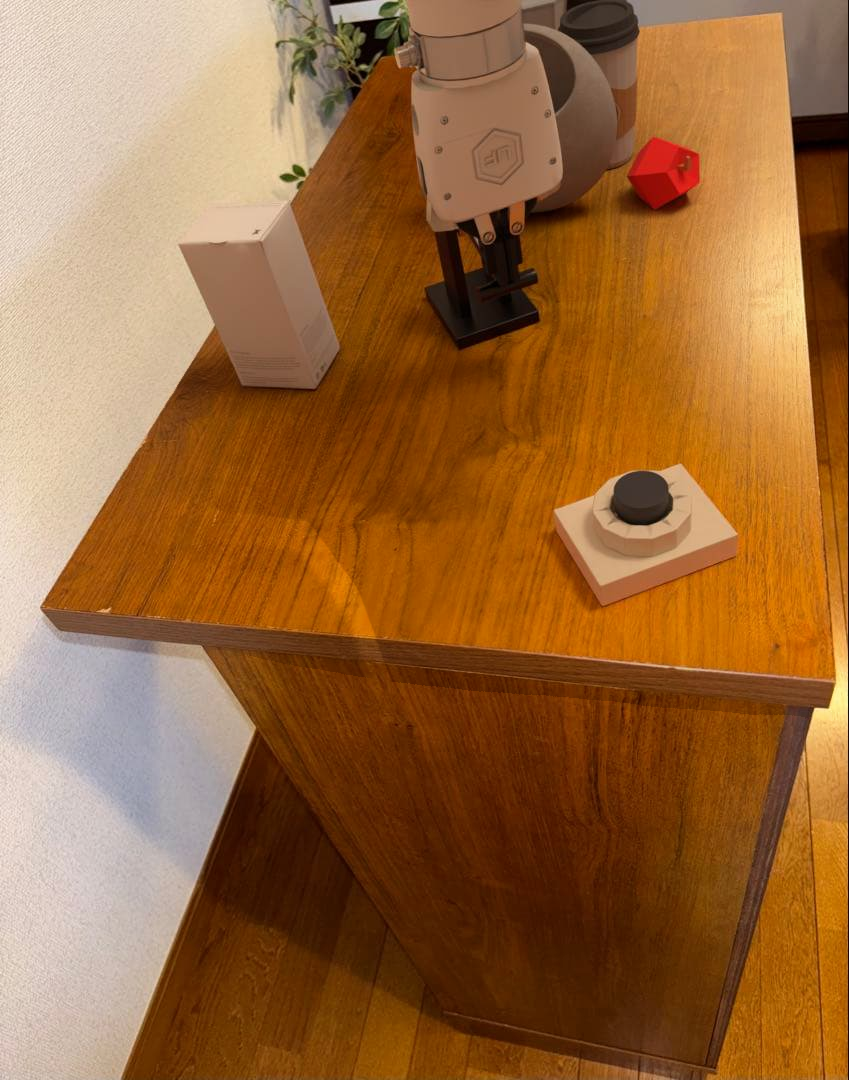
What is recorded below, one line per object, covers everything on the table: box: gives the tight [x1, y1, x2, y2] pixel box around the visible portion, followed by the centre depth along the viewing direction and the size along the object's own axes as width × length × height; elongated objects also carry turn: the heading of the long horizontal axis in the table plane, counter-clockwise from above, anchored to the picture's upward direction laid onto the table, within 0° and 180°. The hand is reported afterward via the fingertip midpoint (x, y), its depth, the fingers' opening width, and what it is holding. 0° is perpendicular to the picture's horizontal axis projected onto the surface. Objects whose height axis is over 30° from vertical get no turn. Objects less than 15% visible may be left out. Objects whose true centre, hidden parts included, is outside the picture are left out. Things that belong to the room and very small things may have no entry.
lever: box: [456, 229, 539, 303], centre depth 83 cm, size 12×5×2 cm, turn 18°
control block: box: [553, 463, 739, 607], centre depth 68 cm, size 10×8×4 cm
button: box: [614, 470, 669, 526], centre depth 66 cm, size 4×4×2 cm
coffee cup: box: [557, 0, 641, 170], centre depth 103 cm, size 8×8×15 cm
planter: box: [524, 24, 617, 214], centre depth 97 cm, size 18×7×19 cm, turn 72°
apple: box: [626, 135, 701, 211], centre depth 98 cm, size 7×7×8 cm
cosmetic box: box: [177, 200, 341, 390], centre depth 87 cm, size 8×7×16 cm
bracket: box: [424, 210, 541, 350], centre depth 89 cm, size 10×8×12 cm
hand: (504, 275), depth 80 cm, fingers closed
